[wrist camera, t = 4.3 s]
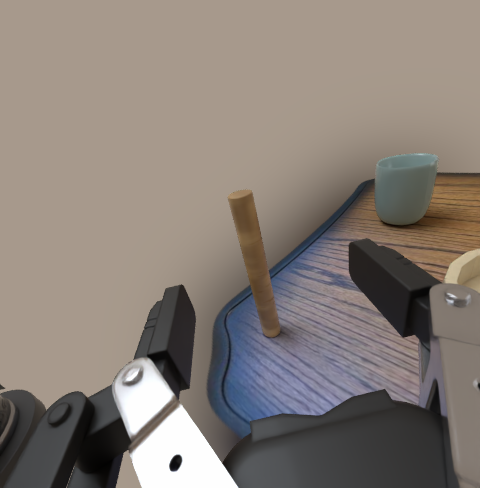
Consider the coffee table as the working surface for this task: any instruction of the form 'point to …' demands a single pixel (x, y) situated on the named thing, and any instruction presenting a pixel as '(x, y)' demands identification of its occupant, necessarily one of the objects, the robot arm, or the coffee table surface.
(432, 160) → the cup
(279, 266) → the coffee table surface
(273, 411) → the coffee table surface
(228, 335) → the coffee table surface
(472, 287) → the bowl
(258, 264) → the stick
